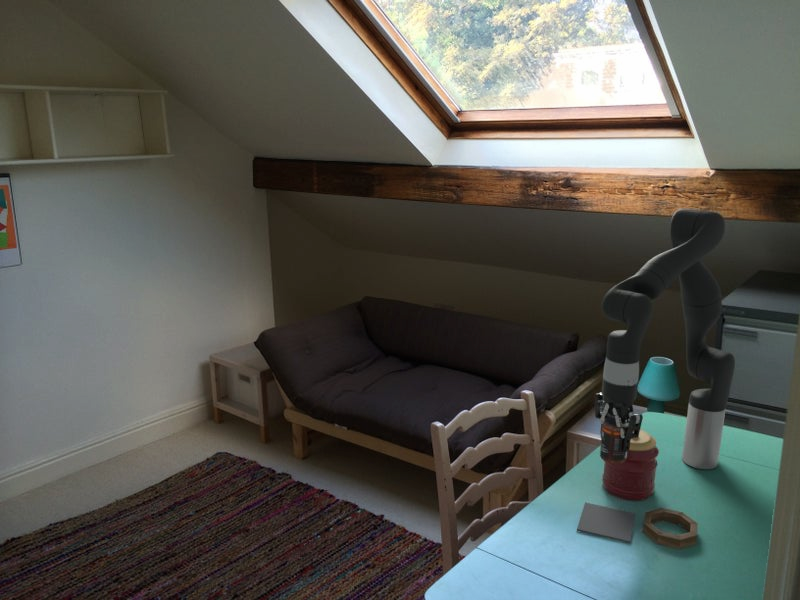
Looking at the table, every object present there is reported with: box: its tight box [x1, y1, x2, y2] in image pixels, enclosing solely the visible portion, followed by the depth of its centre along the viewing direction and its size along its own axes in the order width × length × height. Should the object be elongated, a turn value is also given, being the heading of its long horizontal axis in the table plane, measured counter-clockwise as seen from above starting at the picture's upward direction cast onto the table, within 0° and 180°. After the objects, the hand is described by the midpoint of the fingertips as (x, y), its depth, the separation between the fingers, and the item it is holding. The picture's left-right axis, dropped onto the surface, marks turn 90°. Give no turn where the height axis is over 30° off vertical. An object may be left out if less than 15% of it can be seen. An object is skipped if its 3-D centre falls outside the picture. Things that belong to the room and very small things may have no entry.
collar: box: [642, 507, 699, 550], centre depth 162 cm, size 12×12×2 cm
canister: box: [601, 429, 660, 502], centre depth 178 cm, size 13×13×18 cm
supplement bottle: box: [599, 413, 627, 464], centre depth 159 cm, size 6×6×11 cm
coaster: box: [576, 501, 636, 544], centre depth 165 cm, size 12×12×1 cm
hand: (614, 444), depth 160 cm, fingers closed on supplement bottle, 6 cm apart
